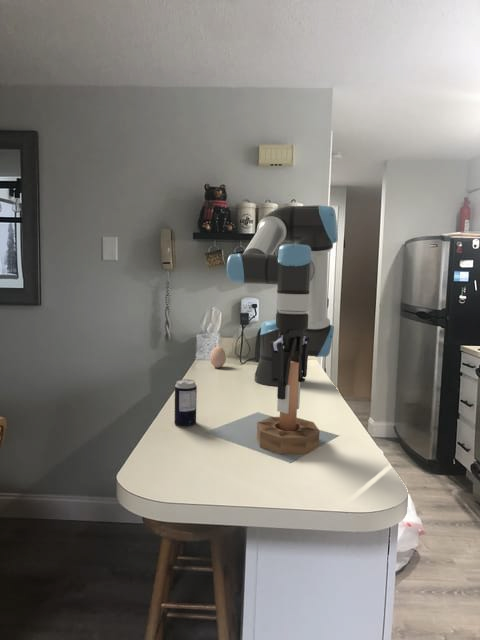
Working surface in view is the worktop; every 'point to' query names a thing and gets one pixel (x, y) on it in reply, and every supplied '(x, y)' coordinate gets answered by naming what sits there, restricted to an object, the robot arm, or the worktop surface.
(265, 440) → the bead
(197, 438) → the worktop surface
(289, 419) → the tan round-topped peg
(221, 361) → the egg
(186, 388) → the beverage can
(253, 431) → the mat
